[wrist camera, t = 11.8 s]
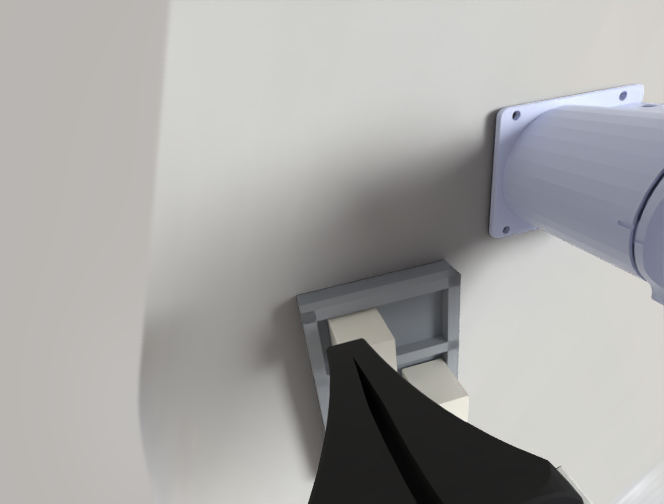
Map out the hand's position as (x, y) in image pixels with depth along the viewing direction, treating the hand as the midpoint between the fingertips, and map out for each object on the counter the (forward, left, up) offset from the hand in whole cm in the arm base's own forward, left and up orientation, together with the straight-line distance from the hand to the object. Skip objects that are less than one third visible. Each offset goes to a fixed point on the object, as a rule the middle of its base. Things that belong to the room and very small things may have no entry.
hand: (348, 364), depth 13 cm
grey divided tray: (-4, +12, -10) cm, 16 cm away
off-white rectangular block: (-2, +6, -8) cm, 10 cm away
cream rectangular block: (-7, +12, -8) cm, 16 cm away
